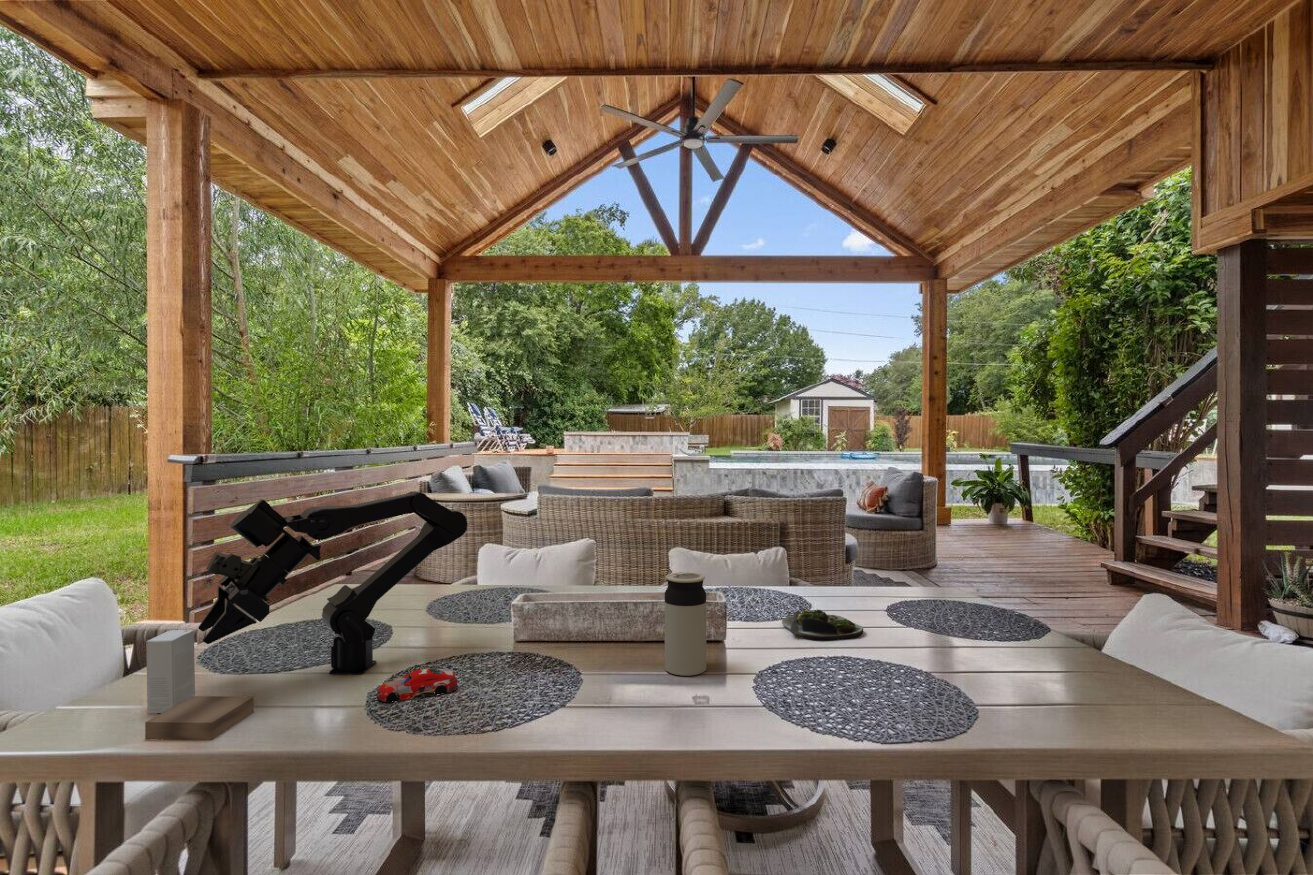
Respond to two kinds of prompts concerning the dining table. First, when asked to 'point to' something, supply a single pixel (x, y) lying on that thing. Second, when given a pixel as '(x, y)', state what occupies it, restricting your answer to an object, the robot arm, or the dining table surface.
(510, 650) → the dining table surface
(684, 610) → the travel mug
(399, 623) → the dining table surface
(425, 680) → the race car
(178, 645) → the skincare box
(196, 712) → the walnut block
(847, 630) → the salad plate
